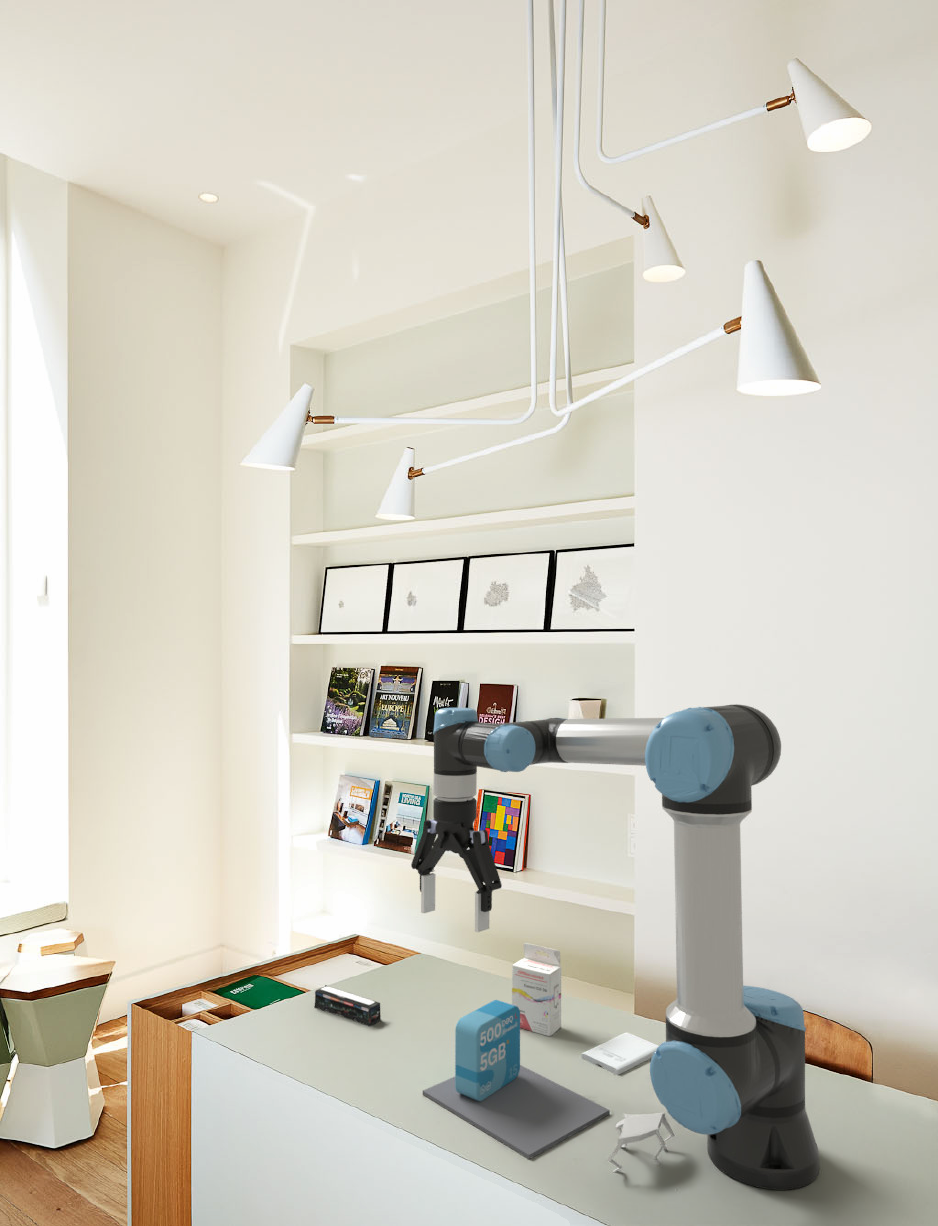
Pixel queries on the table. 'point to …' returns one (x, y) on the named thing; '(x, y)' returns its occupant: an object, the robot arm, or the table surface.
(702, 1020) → the robot arm
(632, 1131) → the origami figure
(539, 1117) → the mat
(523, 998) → the ink cartridge box
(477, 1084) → the data package
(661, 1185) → the table surface
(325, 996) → the bus
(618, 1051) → the external hard drive
